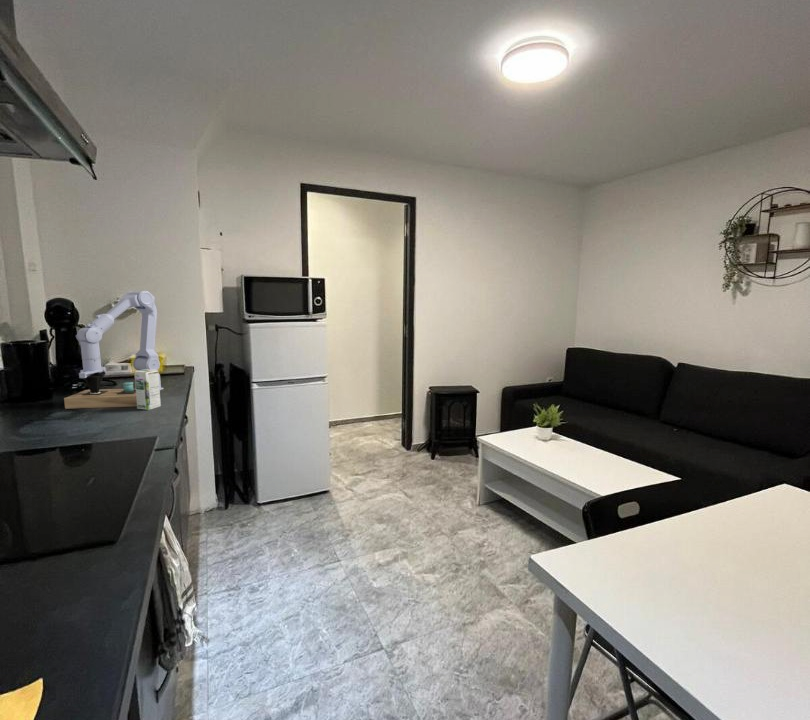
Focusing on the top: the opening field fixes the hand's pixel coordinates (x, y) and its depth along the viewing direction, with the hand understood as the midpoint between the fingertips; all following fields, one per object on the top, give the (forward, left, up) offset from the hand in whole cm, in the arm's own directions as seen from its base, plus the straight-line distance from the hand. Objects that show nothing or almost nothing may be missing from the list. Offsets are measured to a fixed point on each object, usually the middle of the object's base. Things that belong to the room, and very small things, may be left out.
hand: (95, 392), depth 161 cm
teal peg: (0, +12, -1) cm, 12 cm away
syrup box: (+10, +23, -4) cm, 25 cm away
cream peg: (0, 0, -4) cm, 4 cm away
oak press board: (0, +6, -4) cm, 7 cm away
